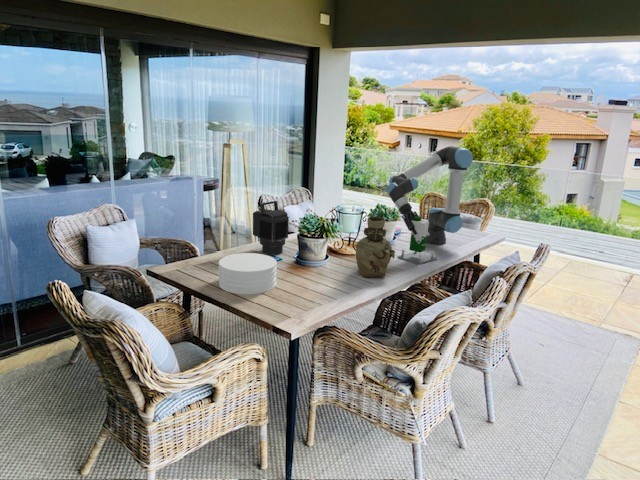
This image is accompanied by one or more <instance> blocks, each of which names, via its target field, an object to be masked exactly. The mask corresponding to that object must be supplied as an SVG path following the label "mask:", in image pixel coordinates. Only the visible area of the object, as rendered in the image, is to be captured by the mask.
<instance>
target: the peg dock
mask: <svg viewBox="0 0 640 480" xmlns="http://www.w3.org/2000/svg"><path fill="white" fill-rule="evenodd" d="M396 257H397V258H398V259H400V260H403V261H406V262H408V263H412V264H415V265H418V266H419V265H423V264H427V263H430V262H434V261H437V260H438V257H436V256H435V251H431V254H430V255H429V254H426V253H423V252H416V251H411V252H408V253H405V249H403V248H402V250H401V255H397V256H396Z"/></svg>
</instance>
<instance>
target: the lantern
mask: <svg viewBox="0 0 640 480" xmlns="http://www.w3.org/2000/svg"><path fill="white" fill-rule="evenodd" d="M272 204H273V208H274V209H273V210H271V209H267V208H266V209H265V206H267V205H272ZM257 209H258V210H256V211H253V213H252V235H253V236H254V237H257V238H258V239H259V244H260V245H262V246H261V247H262V248H261V252H262V253H263V255H267V256H278V255H281V254H283V251H284V250H283V248H284V247H283V246H285V245H286V239H288V238H289V218H290V217H289V216H288V212H286V211H285V210H281V209H279V204H278V201H277V200H272V201H267V202H262V203H260V204H259V206H258V207H257Z"/></svg>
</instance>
